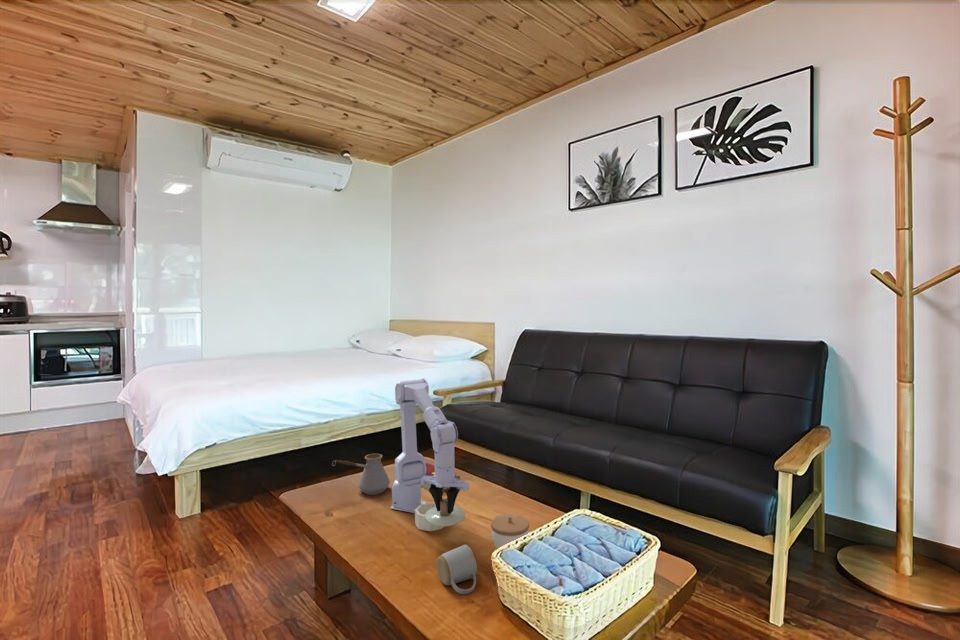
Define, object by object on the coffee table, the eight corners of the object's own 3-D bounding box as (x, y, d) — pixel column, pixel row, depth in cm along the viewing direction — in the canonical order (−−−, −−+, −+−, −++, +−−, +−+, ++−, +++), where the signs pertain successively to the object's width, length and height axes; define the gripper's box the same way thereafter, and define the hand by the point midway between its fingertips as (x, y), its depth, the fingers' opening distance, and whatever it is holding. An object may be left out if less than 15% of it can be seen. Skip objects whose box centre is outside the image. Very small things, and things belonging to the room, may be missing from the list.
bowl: (410, 527, 144) (410, 513, 144) (425, 514, 153) (424, 501, 153) (437, 532, 141) (437, 518, 140) (451, 519, 149) (450, 505, 149)
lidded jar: (527, 562, 124) (527, 527, 124) (487, 558, 127) (487, 524, 126) (531, 541, 135) (530, 510, 135) (494, 538, 137) (494, 507, 137)
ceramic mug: (435, 577, 118) (434, 548, 118) (463, 567, 122) (462, 539, 122) (454, 601, 109) (454, 569, 109) (484, 589, 113) (484, 558, 113)
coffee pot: (380, 481, 181) (380, 443, 180) (395, 491, 172) (395, 451, 171) (327, 497, 167) (326, 456, 166) (340, 508, 158) (339, 464, 157)
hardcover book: (426, 471, 193) (426, 461, 193) (460, 485, 178) (460, 474, 178) (402, 479, 185) (402, 468, 184) (435, 494, 169) (435, 483, 169)
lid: (417, 522, 132) (417, 505, 132) (436, 505, 143) (436, 490, 143) (455, 529, 128) (454, 512, 128) (471, 511, 139) (470, 495, 139)
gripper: (415, 466, 134) (416, 512, 135) (461, 473, 129) (462, 521, 129) (427, 458, 140) (427, 502, 141) (471, 464, 135) (472, 510, 136)
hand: (445, 510), depth 136 cm, fingers closed on lid, 3 cm apart
